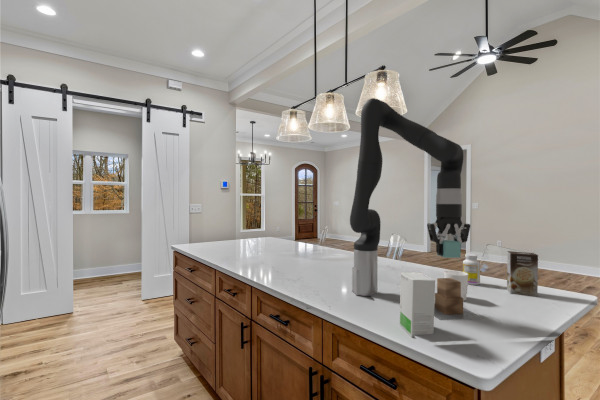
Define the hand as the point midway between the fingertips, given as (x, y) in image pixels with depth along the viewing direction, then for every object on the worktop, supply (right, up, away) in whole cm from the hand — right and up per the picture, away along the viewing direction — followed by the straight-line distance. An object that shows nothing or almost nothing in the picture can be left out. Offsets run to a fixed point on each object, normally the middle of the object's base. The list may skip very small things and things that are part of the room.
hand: (448, 254), depth 98 cm
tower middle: (0, -13, 0) cm, 13 cm away
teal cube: (0, 0, 0) cm, 0 cm away
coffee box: (+41, -20, +23) cm, 51 cm away
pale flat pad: (0, -19, 0) cm, 19 cm away
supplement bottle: (+28, -20, +37) cm, 51 cm away
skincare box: (-16, -19, -14) cm, 28 cm away
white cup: (+10, -19, +14) cm, 26 cm away
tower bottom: (0, -18, 0) cm, 18 cm away
